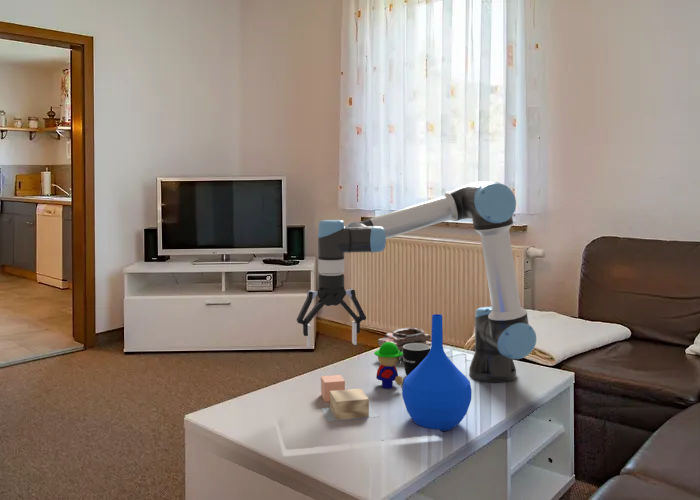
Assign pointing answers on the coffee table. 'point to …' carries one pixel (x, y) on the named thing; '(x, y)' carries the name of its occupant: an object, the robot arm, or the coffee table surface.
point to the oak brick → (349, 404)
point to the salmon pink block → (331, 385)
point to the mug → (414, 355)
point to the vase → (436, 387)
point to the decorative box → (405, 337)
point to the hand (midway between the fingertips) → (331, 345)
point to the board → (331, 417)
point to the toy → (389, 364)
